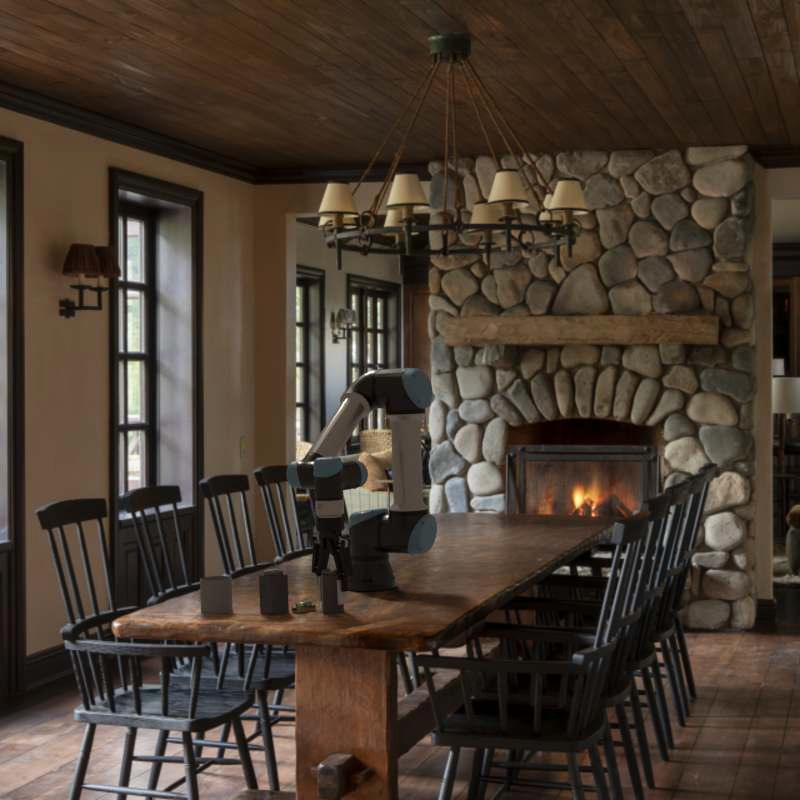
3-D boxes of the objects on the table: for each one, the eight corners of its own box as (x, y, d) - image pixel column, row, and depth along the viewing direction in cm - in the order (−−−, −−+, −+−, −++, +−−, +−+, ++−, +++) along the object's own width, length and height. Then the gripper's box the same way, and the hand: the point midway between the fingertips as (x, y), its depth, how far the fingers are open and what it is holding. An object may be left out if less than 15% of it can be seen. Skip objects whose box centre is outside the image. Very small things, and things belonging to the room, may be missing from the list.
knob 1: (276, 609, 349) (275, 567, 348) (288, 612, 345) (287, 569, 344) (260, 612, 345) (258, 569, 345) (272, 614, 341) (270, 571, 341)
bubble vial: (310, 609, 348) (310, 600, 348) (315, 610, 346) (315, 601, 346) (292, 613, 344) (291, 603, 344) (297, 614, 342) (297, 604, 342)
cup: (234, 611, 354) (232, 575, 354) (231, 617, 346) (230, 580, 345) (203, 613, 354) (201, 576, 353) (199, 618, 345) (198, 581, 345)
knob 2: (321, 610, 346) (320, 567, 346) (342, 608, 347) (340, 566, 346) (323, 613, 341) (322, 570, 340) (344, 612, 341) (342, 569, 341)
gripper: (295, 514, 348) (299, 599, 349) (342, 520, 333) (346, 608, 334) (318, 511, 353) (321, 595, 354) (365, 516, 338) (368, 604, 338)
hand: (333, 601), depth 344 cm, fingers open, 7 cm apart
